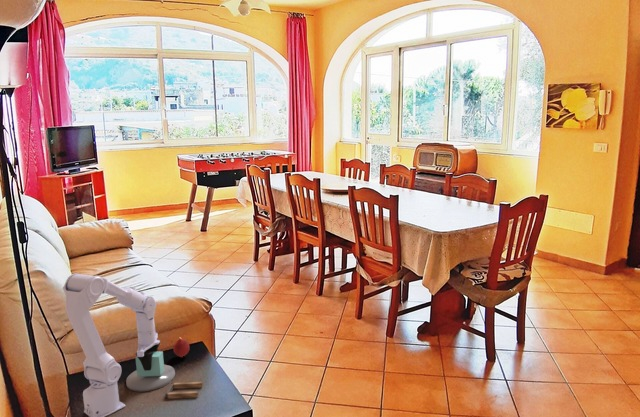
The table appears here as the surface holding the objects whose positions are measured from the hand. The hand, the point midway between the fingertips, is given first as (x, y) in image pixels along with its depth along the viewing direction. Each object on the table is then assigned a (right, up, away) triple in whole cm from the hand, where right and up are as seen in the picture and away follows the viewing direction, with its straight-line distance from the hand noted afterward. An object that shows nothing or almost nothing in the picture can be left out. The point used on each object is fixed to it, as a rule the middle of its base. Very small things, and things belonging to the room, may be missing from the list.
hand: (150, 366), depth 159 cm
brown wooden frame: (+15, -5, -8) cm, 18 cm away
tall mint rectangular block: (0, -2, 0) cm, 3 cm away
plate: (0, -5, +1) cm, 5 cm away
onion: (+6, -2, +16) cm, 17 cm away
